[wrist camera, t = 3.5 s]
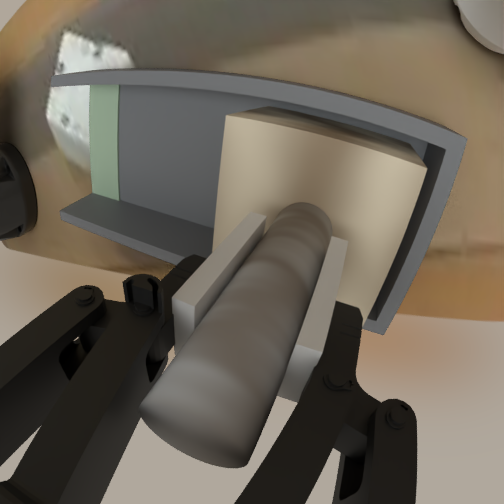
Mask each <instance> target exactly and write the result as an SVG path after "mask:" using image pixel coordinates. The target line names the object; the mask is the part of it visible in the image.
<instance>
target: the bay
mask: <svg viewBox="0 0 504 504" xmlns="http://www.w3.org/2000/svg"><path fill="white" fill-rule="evenodd" d="M75 85H90V102H89V134H90V163H91V179H92V192H93V193H91V194H89V195H88V196H86V197H84V198H82V199H80V200H78V201H76V202H75V203H73V204H71V205H69V206H67V207H66V208H64V209H62V210H60V216H61V220H63V221H65V222H68V223H70V224H73V225H75V226H77V227H80V228H82V229H85V230H87V231H90V232H92V233H95V234H97V235H100V236H102V237H105V238H107V239H110V240H112V241H115V242H117V243H120V244H122V245H125V246H127V247H130V248H133V249H135V250H138V251H140V252H143V253H145V254H148V255H151V256H153V257H156V258H159V259H161V260H164V261H166V262H169V263H172V264H175V265H177V264H178V263H179V262H180V261H181V260H182V259H184V258H186V257H189V256H191V255H193V254H195V255H198V256H201V257H204V258H208V257H209V256H210V255H211V254H212V249H213V237H214V225H215V214H216V203H217V193H218V183H219V173H220V164H221V154H222V145H223V137H224V128H225V120H226V115H229V114H233V113H237V112H242V111H246V110H251V109H256V108H260V107H266V106H272V107H277V108H282V109H287V110H291V111H296V112H301V113H305V114H310V115H314V116H318V117H322V118H326V119H330V120H334V121H338V122H342V123H345V124H349V125H353V126H356V127H360V128H363V129H366V130H370V131H373V132H376V133H379V134H383V135H386V136H389V137H392V138H395V139H398V140H401V141H404V142H407V143H409V144H411V146H412V147H413V148H414V150H415V151H416V153H417V154H418V155H419V157H420V158H421V160H422V161H423V163H424V164H425V166H426V167H427V172H426V175H425V178H424V181H423V184H422V187H421V190H420V193H419V196H418V199H417V201H416V204H415V207H414V210H413V212H412V215H411V218H410V221H409V223H408V226H407V228H406V231H405V234H404V236H403V239H402V241H401V244H400V246H399V249H398V251H397V253H396V256H395V258H394V260H393V263H392V265H391V267H390V270H389V272H388V274H387V277H386V279H385V281H384V283H383V285H382V288H381V290H380V292H379V294H378V296H377V298H376V301H375V303H374V305H373V307H372V309H371V311H370V313H369V315H368V317H367V319H366V321H365V323H364V325H363V326H362V329H365V330H368V331H371V332H375V333H378V334H381V335H384V334H385V332H386V330H387V328H388V326H389V325H390V323H391V321H392V319H393V318H394V316H395V314H396V312H397V310H398V308H399V307H400V305H401V303H402V301H403V299H404V297H405V295H406V293H407V291H408V289H409V287H410V285H411V283H412V281H413V279H414V277H415V275H416V273H417V271H418V269H419V267H420V264H421V262H422V260H423V258H424V256H425V254H426V251H427V249H428V247H429V244H430V242H431V240H432V238H433V235H434V233H435V230H436V228H437V226H438V223H439V221H440V218H441V216H442V213H443V210H444V208H445V205H446V203H447V200H448V197H449V195H450V192H451V189H452V186H453V183H454V180H455V177H456V174H457V171H458V168H459V165H460V162H461V159H462V156H463V152H464V149H465V146H466V142H467V138H465V137H463V136H462V135H460V134H458V133H456V132H454V131H453V130H451V129H449V128H447V127H445V126H443V125H441V124H438V123H436V122H433V121H430V120H428V119H425V118H422V117H420V116H417V115H414V114H411V113H408V112H405V111H402V110H399V109H396V108H393V107H390V106H387V105H384V104H381V103H377V102H374V101H370V100H367V99H363V98H360V97H356V96H352V95H349V94H345V93H341V92H337V91H333V90H328V89H324V88H319V87H315V86H310V85H305V84H300V83H295V82H290V81H284V80H278V79H272V78H265V77H259V76H251V75H244V74H235V73H226V72H216V71H203V70H188V69H160V68H131V69H104V70H92V71H84V72H76V73H68V74H62V75H55V76H51V87H59V86H75Z"/></svg>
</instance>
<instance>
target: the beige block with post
mask: <svg viewBox="0 0 504 504" xmlns="http://www.w3.org/2000/svg"><path fill="white" fill-rule="evenodd" d="M426 172H427V167H426V166H425V164H424V163H423V161H422V160H421V158H420V157H419V155H418V154H417V153H416V151H415V150H414V148H413V147H412V146H411V144H409V143H407V142H404V141H401V140H398V139H395V138H392V137H389V136H386V135H383V134H379V133H376V132H373V131H370V130H366V129H363V128H360V127H356V126H353V125H349V124H345V123H342V122H338V121H334V120H330V119H326V118H322V117H318V116H314V115H310V114H305V113H301V112H296V111H291V110H287V109H282V108H277V107H272V106H266V107H260V108H256V109H251V110H246V111H242V112H237V113H233V114H229V115H226V120H225V128H224V137H223V145H222V154H221V164H220V173H219V183H218V193H217V203H216V214H215V225H214V237H213V249H212V253H213V252H214V251H215V249H216V248H217V247H218V246H219V245H220V244H221V243H222V242H223V241H224V240H225V239H226V238H227V237H228V235H229V234H230V233H231V232H232V231H233V230H234V229H235V228H236V227H237V226H238V225H239V224H240V223H241V222H242V221H243V220H244V218H245V217H246V216H247V215H248V214H249V213H250V212H254V213H258V214H261V215H264V216H267V218H266V224H265V229H264V235H263V237H262V238H261V240H260V241H259V242H258V244H257V245H256V247H255V248H254V249H253V251H252V252H251V253H250V255H249V256H248V257H247V259H246V260H245V262H244V263H243V264H242V266H241V267H240V268H239V270H238V271H237V273H236V274H235V275H234V277H233V278H232V279H231V281H230V282H229V283H228V285H227V286H226V288H225V289H224V290H223V292H222V293H221V294H220V296H219V297H218V299H217V300H216V301H215V303H214V304H213V305H212V307H211V308H210V309H209V311H208V312H207V314H206V315H205V316H204V318H203V319H202V320H201V322H200V323H199V325H198V326H197V327H196V329H195V330H194V331H193V333H192V334H191V335H190V337H189V338H188V340H187V341H186V342H185V344H184V345H183V346H182V348H181V349H180V351H179V352H178V353H177V355H176V356H175V357H174V359H173V360H172V362H171V363H170V364H169V366H168V367H167V368H166V370H165V371H164V372H163V374H162V375H161V377H160V378H159V379H158V381H157V382H156V383H155V385H154V386H153V387H152V389H151V390H150V392H149V393H148V394H147V396H146V397H145V398H144V400H143V401H142V403H141V404H140V406H139V413H140V416H141V417H142V419H143V420H144V422H145V423H146V425H147V426H148V427H149V428H150V429H151V430H152V431H153V432H154V433H155V434H157V435H158V436H159V437H160V438H161V439H163V440H164V441H165V442H167V443H168V444H170V445H171V446H173V447H174V448H176V449H177V450H179V451H181V452H183V453H185V454H186V455H189V456H191V457H193V458H195V459H197V460H200V461H203V462H205V463H208V464H211V465H215V466H219V467H225V468H241V467H244V466H246V465H247V464H248V462H249V460H250V458H251V455H252V453H253V451H254V449H255V447H256V444H257V442H258V440H259V437H260V435H261V433H262V430H263V428H264V426H265V423H266V421H267V419H268V416H269V414H270V411H271V408H272V406H273V404H274V401H275V399H276V396H277V394H278V391H279V389H280V386H281V384H282V381H283V379H284V376H285V373H286V370H287V366H288V364H289V361H290V358H291V356H292V353H293V350H294V347H295V345H296V342H297V339H298V336H299V334H300V331H301V328H302V325H303V323H304V320H305V317H306V314H307V311H308V308H309V305H310V302H311V299H312V297H313V294H314V291H315V288H316V285H317V282H318V278H319V275H320V272H321V269H322V266H323V263H324V260H325V257H326V253H327V250H328V247H329V244H330V240H331V237H332V236H334V237H337V238H340V239H343V240H346V241H348V246H347V251H346V256H345V261H344V266H343V270H342V275H341V280H340V284H339V289H338V293H337V297H336V301H339V302H342V303H345V304H349V305H352V306H355V307H358V308H359V309H360V311H361V314H362V317H363V324H362V326H363V325H364V323H365V321H366V319H367V317H368V315H369V313H370V311H371V309H372V307H373V305H374V303H375V301H376V298H377V296H378V294H379V292H380V290H381V288H382V285H383V283H384V281H385V279H386V277H387V274H388V272H389V270H390V267H391V265H392V263H393V260H394V258H395V256H396V253H397V251H398V249H399V246H400V244H401V241H402V239H403V236H404V234H405V231H406V228H407V226H408V223H409V221H410V218H411V215H412V212H413V210H414V207H415V204H416V201H417V199H418V196H419V193H420V190H421V187H422V184H423V181H424V178H425V175H426Z"/></svg>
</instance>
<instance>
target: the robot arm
mask: <svg viewBox="0 0 504 504" xmlns="http://www.w3.org/2000/svg"><path fill="white" fill-rule="evenodd" d="M36 217H37V205H36V197H35V192H34V187H33V183H32V180H31V177H30V174H29V171H28V169H27V166H26V164H25V162H24V160H23V158H22V157H21V155H20V153H19V152H18V151H17V149H16V148H15V147H14V146H12V145H11V144H9V143H2V144H0V241H1V240H6V239H11V238H15V237H20V236H22V235H24V234H25V233H27V232H28V231H30V230H31V229H32V228H33V227H34V225H35V222H36ZM266 218H267V216H264V215H261V214H258V213H254V212H250V213H249V214H248V215H247V216H246V217H245V218H244V220H243V221H242V222H241V223H240V224H239V225H238V226H237V227H236V228H235V229H234V230H233V231H232V232H231V233H230V234H229V235H228V237H227V238H226V239H225V240H224V241H223V242H222V243H221V244H220V245H219V246H218V247H217V248H216V249H215V251H214V252H213V253H212V254H211V255H210V256H209V257H208V258H204V257H201V256H198V255H195V254H193V255H191V256H189V257H186V258H184V259H182V260H181V261H180V262H179V263H178V264H177V265H176V267H175V268H173V269H172V270H171V271H170V273H169V274H167V275H166V276H165V277H164V278H163V279H162V280H161V281H160V280H159V279H158V278H156V277H154V276H152V275H147V274H139V275H134V276H131V277H128V278H127V279H126V280H124V281H123V288H124V294H125V301H126V302H118V301H112V300H106V299H104V296H103V292H102V291H101V290H100V289H99V288H98V287H95V286H90V285H85V286H80V287H78V288H76V289H74V290H73V291H71V292H70V293H68V294H67V295H66V296H64V297H63V298H62V299H60V300H59V301H58V302H56V303H55V304H53V305H52V306H51V307H50V308H48V309H47V310H46V311H44V312H43V313H42V314H40V315H39V316H38V317H37V318H35V319H34V320H32V321H31V322H30V323H29V324H27V325H26V326H25V327H23V328H22V329H21V330H20V331H18V332H17V333H16V334H15V335H13V336H12V337H11V338H10V339H9V340H7V341H6V342H5V343H3V344H2V345H1V346H0V466H1V465H2V464H3V463H4V462H5V461H6V460H7V459H8V458H9V457H10V456H11V455H12V454H13V453H14V452H15V451H16V450H17V449H18V448H19V447H20V446H21V445H22V444H23V443H24V442H25V441H26V440H27V439H28V438H29V437H30V436H31V435H32V434H33V433H34V432H35V431H36V430H37V429H38V428H39V427H40V426H41V427H40V429H39V430H38V432H37V434H36V435H35V437H34V439H33V440H32V442H31V444H30V445H29V447H28V449H27V451H26V452H25V454H24V456H23V458H22V459H21V461H20V463H19V465H18V467H17V468H16V470H15V472H14V474H13V475H12V477H11V478H10V479H9V480H7V481H3V482H0V504H100V503H101V501H102V499H103V496H104V494H105V492H106V490H107V487H108V486H109V483H110V481H111V479H112V477H113V474H114V472H115V470H116V468H117V466H118V464H119V462H120V460H121V458H122V455H123V453H124V451H125V449H126V447H127V445H128V443H129V441H130V439H131V436H132V434H133V432H134V430H135V428H136V426H137V424H138V422H139V420H140V418H141V416H140V413H139V406H140V404H141V403H142V401H143V400H144V398H145V397H146V396H147V394H148V393H149V392H150V390H151V389H152V387H153V386H154V385H155V383H156V382H157V381H158V379H159V378H160V377H161V375H162V373H163V371H164V369H165V367H166V365H167V361H168V352H169V351H170V350H171V348H172V347H173V346H174V350H175V355H177V353H178V352H179V351H180V349H181V348H182V346H183V345H184V344H185V342H186V341H187V340H188V338H189V337H190V335H191V334H192V333H193V331H194V330H195V329H196V327H197V326H198V325H199V323H200V322H201V320H202V319H203V318H204V316H205V315H206V314H207V312H208V311H209V309H210V308H211V307H212V305H213V304H214V303H215V301H216V300H217V299H218V297H219V296H220V294H221V293H222V292H223V290H224V289H225V288H226V286H227V285H228V283H229V282H230V281H231V279H232V278H233V277H234V275H235V274H236V273H237V271H238V270H239V268H240V267H241V266H242V264H243V263H244V262H245V260H246V259H247V257H248V256H249V255H250V253H251V252H252V251H253V249H254V248H255V247H256V245H257V244H258V242H259V241H260V240H261V238H262V237H263V235H264V229H265V224H266ZM347 246H348V241H346V240H343V239H340V238H337V237H334V236H332V237H331V240H330V244H329V247H328V250H327V253H326V257H325V260H324V263H323V266H322V269H321V272H320V275H319V278H318V282H317V285H316V288H315V291H314V294H313V297H312V299H311V302H310V305H309V308H308V311H307V314H306V317H305V320H304V323H303V325H302V328H301V331H300V334H299V336H298V339H297V342H296V345H295V347H294V350H293V353H292V356H291V358H290V361H289V364H288V366H287V370H286V373H285V376H284V379H283V381H282V384H281V386H280V389H279V391H278V394H277V396H280V397H282V398H285V399H288V400H292V401H294V402H297V403H298V404H297V405H296V407H295V409H294V411H293V412H292V414H291V416H290V418H289V420H288V421H287V423H286V425H285V426H284V428H283V430H282V431H281V433H280V435H279V436H278V438H277V440H276V441H275V443H274V445H273V446H272V448H271V450H270V451H269V453H268V454H267V456H266V457H265V459H264V460H263V462H262V463H261V465H260V467H259V468H258V470H257V471H256V473H255V474H254V476H253V477H252V479H251V480H250V482H249V483H248V485H247V486H246V488H245V489H244V490H243V492H242V493H241V495H240V496H239V498H238V499H237V500H236V502H235V503H234V504H305V503H306V501H307V499H308V497H309V495H310V493H311V491H312V489H313V488H314V486H315V484H316V482H317V480H318V478H319V476H320V474H321V472H322V470H323V468H324V466H325V464H326V461H327V459H328V457H329V455H330V453H331V451H332V449H333V448H334V449H336V450H338V451H339V452H341V456H340V462H339V468H338V474H337V480H336V486H335V491H334V497H333V502H332V504H415V502H416V484H417V421H416V416H415V413H414V411H413V410H412V408H411V407H410V406H409V405H408V404H407V403H405V402H404V401H401V400H398V399H388V400H386V401H383V402H382V403H381V402H380V401H378V400H376V399H375V398H373V397H372V396H370V395H368V394H367V393H366V392H365V391H364V390H363V389H362V388H361V387H360V385H359V384H358V382H357V379H356V365H357V359H358V353H359V346H360V338H361V332H362V331H361V330H362V324H363V317H362V314H361V311H360V309H359V308H358V307H355V306H352V305H349V304H345V303H342V302H339V301H336V297H337V293H338V289H339V284H340V280H341V275H342V270H343V266H344V261H345V256H346V251H347ZM77 337H79V338H78V339H77V340H75V339H76V338H77ZM73 340H75V341H73ZM298 401H299V402H298Z"/></svg>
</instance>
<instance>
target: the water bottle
mask: <svg viewBox="0 0 504 504" xmlns="http://www.w3.org/2000/svg"><path fill="white" fill-rule="evenodd" d="M453 1H454V3H455V5H457V6H458V8H459V10H460V13H461V20H462V22H463V24H464V26H465V28H466V30H467V31H468V32H469V33H470V34H471V35H472V36H473V37H474V38H475V39H476V40H477V41H478V42H480V43H481V44H482V45H483V46H485V47H486V48H488V49H490V50H492V51H495V52H498V53H501V54H504V0H453Z"/></svg>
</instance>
